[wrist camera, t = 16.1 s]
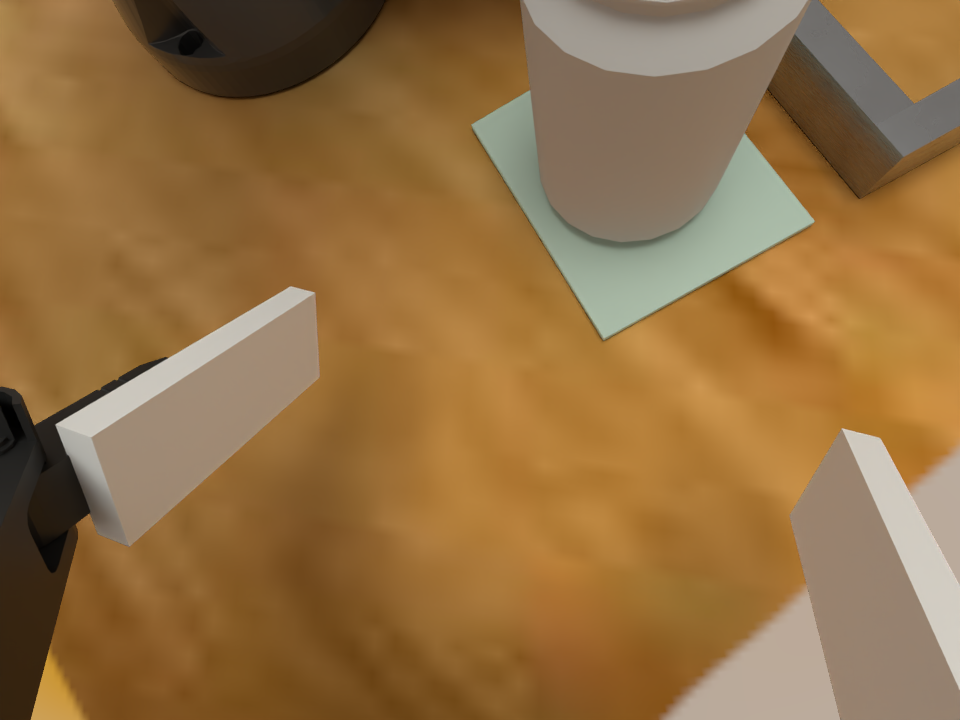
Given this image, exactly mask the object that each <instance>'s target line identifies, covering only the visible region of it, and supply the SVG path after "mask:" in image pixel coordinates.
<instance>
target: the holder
mask: <svg viewBox="0 0 960 720" xmlns="http://www.w3.org/2000/svg"><path fill="white" fill-rule="evenodd" d="M767 88H768V90H769V91H770V92H771V93H772V94H773V96H774V97H775V98H776V99H777V100H778V102H779V103H780V104H781V105H782V106H783V108H784V109H785V110H786V111H787V112H788V114H789V115H790V116H791V117H792V118H793V120H794V121H795V122H796V123H797V124H798V126H799V127H800V128H801V129H802V130H803V132H804V133H805V134H806V135H807V136H808V138H809V139H810V140H811V141H812V142H813V143H814V145H815V146H816V147H817V148H818V149H819V151H820V152H821V153H822V154H823V155H824V157H825V158H826V159H827V160H828V161H829V163H830V164H831V165H832V166H833V167H834V169H835V170H836V171H837V172H838V173H839V175H840V176H841V177H842V178H843V179H844V181H845V182H846V183H847V184H848V185H849V187H850V188H851V189H852V190H853V191H854V193H855V194H856V195H857V196H858V197H859V199H860V198H862V197H864V196H866V195H867V194H869V193H871V192H873V191H875V190H876V189H878V188H880V187H882V186H884V185H885V184H887V183H889V182H891V181H893V180H894V179H896V178H898V177H900V176H902V175H903V174H905V173H907V172H909V171H911V170H912V169H914V168H916V167H918V166H920V165H921V164H923V163H925V162H927V161H929V160H930V159H932V158H934V157H936V156H938V155H939V154H941V153H943V152H945V151H947V150H948V149H950V148H952V147H954V146H956V145H957V144H959V143H960V79H958V80H956V81H954V82H952V83H951V84H949V85H947V86H945V87H944V88H942V89H940V90H938V91H936V92H935V93H933V94H931V95H929V96H928V97H926V98H924V99H922V100H920V101H919V102H917V103H915V104H914V103H913V102H912V101H911V100H910V99H909V98H908V97H907V96H906V95H905V94H904V92H903V91H902V90H901V89H900V88H899V87H898V86H897V85H896V84H895V83H894V82H893V81H892V79H891V78H890V77H889V76H888V75H887V74H886V73H885V72H884V71H883V70H882V69H881V68H880V67H879V65H878V64H877V63H876V62H875V61H874V60H873V59H872V58H871V57H870V56H869V55H868V54H867V52H866V51H865V50H864V49H863V48H862V47H861V46H860V45H859V44H858V43H857V42H856V41H855V40H854V38H853V37H852V36H851V35H850V34H849V33H848V32H847V31H846V30H845V29H844V28H843V27H842V25H841V24H840V23H839V22H838V21H837V20H836V19H835V18H834V17H833V16H832V15H831V14H830V13H829V11H828V10H827V9H826V8H825V7H824V6H823V5H822V4H821V3H820V2H819V1H818V0H811V2H810V4H809V6H808V8H807V10H806V12H805V14H804V16H803V18H802V20H801V22H800V24H799V26H798V28H797V30H796V32H795V34H794V36H793V38H792V40H791V42H790V44H789V46H788V48H787V50H786V52H785V54H784V56H783V58H782V60H781V62H780V64H779V66H778V68H777V70H776V72H775V74H774V76H773V78H772V80H771V81H770V83H769V85H768V87H767Z"/></svg>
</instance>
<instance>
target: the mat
mask: <svg viewBox="0 0 960 720" xmlns="http://www.w3.org/2000/svg"><path fill="white" fill-rule="evenodd" d="M471 126H472V129H473V131H474V133H475V134H476V136H477V138H478V139H479V141H480V142H481V144H482V146H483V147H484V149H485V150H486V152H487V154H488V155H489V157H490V159H491V160H492V162H493V163H494V165H495V167H496V168H497V170H498V171H499V173H500V175H501V176H502V178H503V180H504V181H505V183H506V184H507V186H508V188H509V189H510V191H511V192H512V194H513V196H514V197H515V199H516V201H517V202H518V204H519V205H520V207H521V209H522V210H523V212H524V213H525V215H526V217H527V218H528V220H529V222H530V223H531V225H532V226H533V228H534V230H535V231H536V233H537V235H538V236H539V238H540V239H541V241H542V243H543V244H544V246H545V247H546V249H547V251H548V252H549V254H550V256H551V257H552V259H553V260H554V262H555V264H556V265H557V267H558V268H559V270H560V272H561V273H562V275H563V277H564V278H565V280H566V281H567V283H568V285H569V286H570V288H571V289H572V291H573V293H574V294H575V296H576V298H577V299H578V301H579V302H580V304H581V306H582V307H583V309H584V310H585V312H586V314H587V315H588V317H589V319H590V320H591V322H592V323H593V325H594V327H595V328H596V330H597V331H598V333H599V335H600V336H601V338H602V340H603V341H604V340H606V339H608V338H610V337H611V336H613V335H615V334H617V333H619V332H621V331H622V330H624V329H626V328H628V327H630V326H631V325H633V324H635V323H637V322H639V321H640V320H642V319H644V318H646V317H648V316H649V315H651V314H653V313H655V312H657V311H658V310H660V309H662V308H664V307H666V306H667V305H669V304H671V303H673V302H675V301H676V300H678V299H680V298H682V297H684V296H685V295H687V294H689V293H691V292H693V291H694V290H696V289H698V288H700V287H702V286H703V285H705V284H707V283H709V282H711V281H712V280H714V279H716V278H718V277H720V276H721V275H723V274H725V273H727V272H729V271H730V270H732V269H734V268H736V267H738V266H739V265H741V264H743V263H745V262H747V261H748V260H750V259H752V258H754V257H756V256H757V255H759V254H761V253H763V252H765V251H766V250H768V249H770V248H772V247H774V246H775V245H777V244H779V243H781V242H783V241H784V240H786V239H788V238H790V237H792V236H793V235H795V234H797V233H799V232H801V231H802V230H804V229H806V228H808V227H810V226H811V225H812V224H813V223H814V222H815V221H814V220H813V218H812V217H811V216H810V215H809V213H808V212H807V211H806V210H805V208H804V207H803V206H802V205H801V203H800V202H799V201H798V200H797V198H796V197H795V196H794V195H793V193H792V192H791V191H790V190H789V188H788V187H787V186H786V184H785V183H784V182H783V181H782V179H781V178H780V177H779V176H778V174H777V173H776V172H775V171H774V169H773V168H772V167H771V166H770V164H769V163H768V162H767V161H766V159H765V158H764V157H763V156H762V154H761V153H760V152H759V151H758V149H757V148H756V147H755V146H754V144H753V143H752V142H751V141H750V139H749V138H748V137H747V136H746V134H745V133H744V135H743V137H742V139H741V141H740V143H739V145H738V147H737V149H736V151H735V153H734V155H733V157H732V159H731V161H730V163H729V165H728V167H727V169H726V171H725V173H724V175H723V177H722V179H721V181H720V183H719V184H718V186H717V188H716V190H715V191H714V193H713V194H712V196H711V197H710V199H709V200H708V202H707V203H706V205H705V206H704V208H703V209H702V211H700V212H699V213H698V214H697V215H695V216H694V217H693V218H692V219H690V220H689V221H688V222H686V223H685V224H684V225H683V226H681V227H680V228H679V229H676V230H674V231H671V232H669V233H666V234H664V235H661V236H659V237H656V238H653V239H651V240H640V241H629V242H617V241H612V240H607V239H602V238H597V237H592V236H590V235H589V234H587V233H585V232H583V231H581V230H579V229H578V228H576V227H574V226H572V225H570V224H568V223H567V222H566V220H565V219H564V218H563V217H562V216H561V215H560V214H559V213H558V212H557V211H556V210H555V209H554V208H553V207H552V205H551V204H550V202H549V200H548V197H547V195H546V193H545V190H544V188H543V186H542V183H541V180H540V171H539V163H538V154H537V145H536V136H535V128H534V119H533V110H532V102H531V93H530V90H529V91H527V92H526V93H524V94H522V95H521V96H519V97H517V98H516V99H514V100H512V101H510V102H509V103H507V104H505V105H504V106H502V107H500V108H499V109H497V110H495V111H494V112H492V113H490V114H488V115H487V116H485V117H483V118H482V119H480V120H478V121H477V122H475V123H473V124H471Z"/></svg>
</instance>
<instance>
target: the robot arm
mask: <svg viewBox="0 0 960 720" xmlns="http://www.w3.org/2000/svg"><path fill="white" fill-rule="evenodd" d="M112 1H113V2H114V4H115V6H116V8H117V9H118V11H119V13H120V15H121V16H122V18H123V20H124V22H125V23H126V25H127V27H128V28H129V29H130V31H131V32H132V33H133V35H134V36H135V37H136V39H137V40H138V41H139V42H140V43H141V44H142V45H143V47H144V48H145V49H146V50H147V51H148V52H149V53H151V54H152V55H153V56H154V57H155V58H156V59H157V60H158V61H159V62H160V63H161V64H162V65H163V66H164V67H165V68H166V69H167V70H168V71H169V72H170V73H171V74H172V75H173V76H174V77H176V78H177V79H178V80H180V81H181V82H183V83H185V84H186V85H188V86H190V87H192V88H194V89H197V90H199V91H202V92H205V93H209V94H213V95H219V96H228V97H247V96H256V95H262V94H267V93H271V92H275V91H279V90H282V89H285V88H288V87H290V86H293V85H295V84H298V83H300V82H302V81H304V80H306V79H308V78H310V77H312V76H313V75H315V74H317V73H319V72H320V71H322V70H323V69H325V68H326V67H328V66H329V65H331V64H332V63H333V62H335V61H336V60H337V59H338V58H340V57H341V56H342V55H343V54H344V53H346V52H347V51H348V50H349V49H350V48H351V47H352V46H353V45H354V44H355V43H356V42H357V41H358V40H359V39H360V37H361V36H362V35H363V34H364V33H365V31H366V30H367V29H368V28H369V26H370V25H371V23H372V22H373V21H374V19H375V17H376V16H377V14H378V13H379V11H380V9H381V7H382V5H383V4H384V1H385V0H112ZM319 377H320V372H319V353H318V334H317V316H316V297H315V293H314V292H310V291H307V290H303V289H299V288H295V287H291V286H290V287H289V288H287V289H285V290H284V291H282V292H280V293H278V294H277V295H275V296H273V297H272V298H270V299H268V300H267V301H265V302H263V303H261V304H260V305H258V306H256V307H255V308H253V309H251V310H250V311H248V312H246V313H244V314H243V315H241V316H239V317H238V318H236V319H234V320H233V321H231V322H229V323H227V324H226V325H224V326H222V327H221V328H219V329H217V330H216V331H214V332H212V333H210V334H209V335H207V336H205V337H204V338H202V339H200V340H198V341H197V342H195V343H193V344H192V345H190V346H188V347H187V348H185V349H183V350H181V351H180V352H178V353H176V354H175V355H173V356H171V357H170V358H167V357H164V358H161V359H158V360H155V361H152V362H149V363H146V364H143V365H140V366H138V367H136V368H134V369H133V370H131V371H129V372H127V373H126V374H124V375H122V376H120V377H119V379H118V380H117V381H116V380H113V381H112V382H110V383H108V384H106V385H105V386H103V387H101V390H100V391H99V390H96V391H94V392H92V393H91V394H89V395H87V396H85V397H84V398H82V399H80V400H78V401H77V402H75V403H73V404H71V405H70V406H68V407H66V408H64V409H63V410H61V411H59V412H57V413H56V414H54V415H52V416H50V417H48V418H47V419H45V420H43V421H41V422H40V423H38V424H36V425H34V424H33V422H32V419H31V417H30V415H29V412H28V410H27V407H26V405H25V403H24V400H23V398H22V395H20V394H19V393H18V392H17V391H16V390H14V389H10V388H6V387H0V720H31V716H32V712H33V708H34V704H35V701H36V697H37V693H38V689H39V685H40V682H41V678H42V674H43V670H44V666H45V662H46V659H47V655H48V651H49V647H50V643H51V639H52V636H53V632H54V628H55V624H56V620H57V616H58V613H59V609H60V605H61V601H62V597H63V594H64V590H65V586H66V582H67V578H68V574H69V571H70V567H71V563H72V559H73V555H74V551H75V548H76V544H77V540H78V531H77V528H76V525H75V524H76V523H77V522H79V521H80V520H81V519H83V518H84V517H85V516H86V515H88V514H89V513H90V515H91V518H92V520H93V523H94V525H95V528H96V531H97V533H98V534H99V535H101V536H104V537H106V538H109V539H111V540H114V541H116V542H119V543H121V544H124V545H126V546H129V547H130V546H131V545H132V544H133V543H134V542H135V541H136V540H138V539H139V538H140V537H141V536H142V535H143V534H144V533H145V532H147V531H148V530H149V529H150V528H151V527H152V526H153V525H154V524H156V523H157V522H158V521H159V520H160V519H161V518H162V517H163V516H165V515H166V514H167V513H168V512H169V511H170V510H171V509H172V508H174V507H175V506H176V505H177V504H178V503H179V502H180V501H181V500H182V499H184V498H185V497H186V496H187V495H188V494H189V493H190V492H191V491H193V490H194V489H195V488H196V487H197V486H198V485H199V484H200V483H202V482H203V481H204V480H205V479H206V478H207V477H208V476H209V475H211V474H212V473H213V472H214V471H215V470H216V469H217V468H218V467H220V466H221V465H222V464H223V463H224V462H225V461H226V460H227V459H229V458H230V457H231V456H232V455H233V454H234V453H235V452H236V451H238V450H239V449H240V448H241V447H242V446H243V445H244V444H245V443H246V442H248V441H249V440H250V439H251V438H252V437H253V436H254V435H255V434H257V433H258V432H259V431H260V430H261V429H262V428H263V427H264V426H266V425H267V424H268V423H269V422H270V421H271V420H272V419H273V418H275V417H276V416H277V415H278V414H279V413H280V412H281V411H282V410H284V409H285V408H286V407H287V406H288V405H289V404H290V403H291V402H293V401H294V400H295V399H296V398H297V397H298V396H299V395H300V394H302V393H303V392H304V391H305V390H306V389H307V388H308V387H309V386H310V385H312V384H313V383H314V382H315V381H316V380H317V379H318V378H319ZM790 519H791V523H792V527H793V531H794V535H795V540H796V544H797V548H798V552H799V556H800V560H801V564H802V568H803V572H804V576H805V580H806V584H807V588H808V592H809V596H810V600H811V603H812V608H813V612H814V616H815V620H816V624H817V628H818V632H819V635H820V640H821V644H822V648H823V652H824V656H825V660H826V663H827V668H828V672H829V676H830V679H831V684H832V688H833V692H834V696H835V699H836V703H837V708H838V712H839V716H840V720H960V585H959V583H958V581H957V579H956V578H955V576H954V574H953V572H952V570H951V568H950V566H949V565H948V563H947V561H946V559H945V557H944V555H943V553H942V552H941V550H940V548H939V546H938V544H937V543H936V541H935V539H934V537H933V535H932V533H931V532H930V529H929V528H928V526H927V524H926V522H925V520H924V518H923V517H922V515H921V513H920V511H919V509H918V507H917V505H916V503H915V502H914V500H913V498H912V496H911V494H910V492H909V491H908V489H907V487H906V485H905V483H904V481H903V479H902V478H901V476H900V474H899V472H898V470H897V468H896V466H895V465H894V463H893V461H892V459H891V457H890V455H889V453H888V452H887V450H886V448H885V446H884V444H883V442H882V441H881V439H880V438H878V437H874V436H870V435H866V434H862V433H858V432H854V431H850V430H846V429H843V428H842V429H841V431H840V432H839V434H838V436H837V437H836V439H835V441H834V442H833V444H832V446H831V447H830V449H829V451H828V452H827V454H826V455H825V457H824V459H823V460H822V462H821V464H820V465H819V467H818V469H817V470H816V472H815V474H814V475H813V477H812V479H811V480H810V482H809V484H808V485H807V487H806V489H805V490H804V492H803V494H802V495H801V497H800V499H799V500H798V502H797V504H796V505H795V507H794V509H793V510H792V512H791V514H790Z"/></svg>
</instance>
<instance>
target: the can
mask: <svg viewBox="0 0 960 720" xmlns="http://www.w3.org/2000/svg"><path fill="white" fill-rule="evenodd" d="M810 2H811V0H520V6H521V15H522V23H523V32H524V41H525V49H526V58H527V67H528V75H529V84H530V93H531V102H532V110H533V119H534V128H535V136H536V145H537V154H538V163H539V171H540V180H541V183H542V186H543V188H544V190H545V193H546V195H547V197H548V200H549V202H550V204H551V205H552V207H553V208H554V209H555V210H556V211H557V212H558V213H559V214H560V215H561V216H562V217H563V218H564V219H565V220H566V222H567V223H568V224H570V225H572V226H574V227H576V228H578V229H579V230H581V231H583V232H585V233H587V234H589V235H590V236H592V237H597V238H602V239H607V240H612V241H617V242H629V241H640V240H651V239H653V238H656V237H659V236H661V235H664V234H666V233H669V232H671V231H674V230H676V229H679V228H680V227H681V226H683V225H684V224H685V223H686V222H688V221H689V220H690V219H692V218H693V217H694V216H695V215H697V214H698V213H699V212H700V211H702V209H703V208H704V206H705V205H706V203H707V202H708V200H709V199H710V197H711V196H712V194H713V193H714V191H715V190H716V188H717V186H718V184H719V183H720V181H721V179H722V177H723V175H724V173H725V171H726V169H727V167H728V165H729V163H730V161H731V159H732V157H733V155H734V153H735V151H736V149H737V147H738V145H739V143H740V141H741V139H742V137H743V135H744V133H745V131H746V129H747V127H748V125H749V123H750V121H751V119H752V117H753V115H754V113H755V111H756V109H757V107H758V105H759V103H760V101H761V99H762V97H763V95H764V93H765V91H766V89H767V87H768V85H769V83H770V81H771V80H772V78H773V76H774V74H775V72H776V70H777V68H778V66H779V64H780V62H781V60H782V58H783V56H784V54H785V52H786V50H787V48H788V46H789V44H790V42H791V40H792V38H793V36H794V34H795V32H796V30H797V28H798V26H799V24H800V22H801V20H802V18H803V16H804V14H805V12H806V10H807V8H808V6H809V4H810Z"/></svg>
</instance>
